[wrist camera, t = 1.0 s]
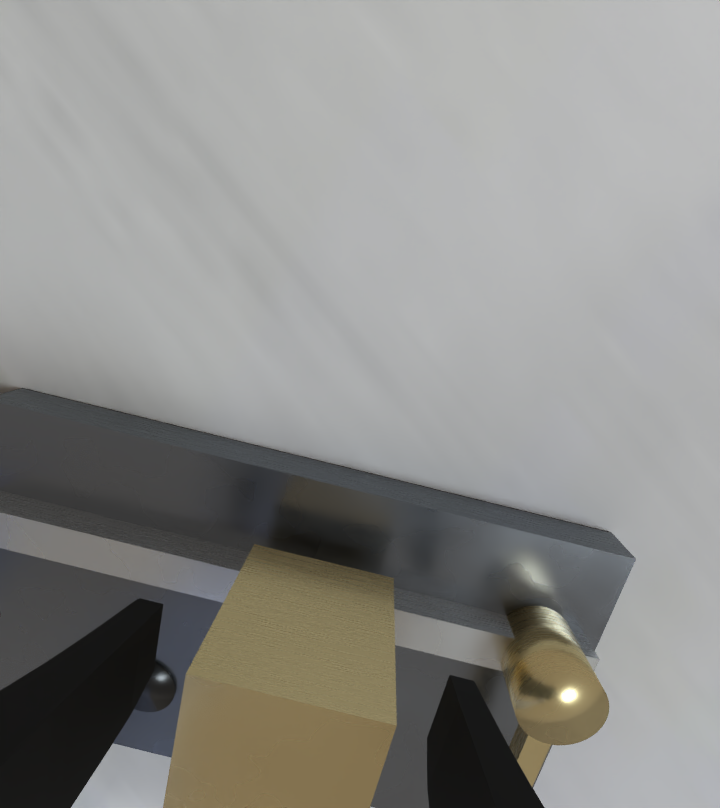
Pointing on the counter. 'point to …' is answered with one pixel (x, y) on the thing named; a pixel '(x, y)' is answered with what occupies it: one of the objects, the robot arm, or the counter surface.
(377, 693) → the leg
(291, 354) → the counter surface
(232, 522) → the bolt plate
